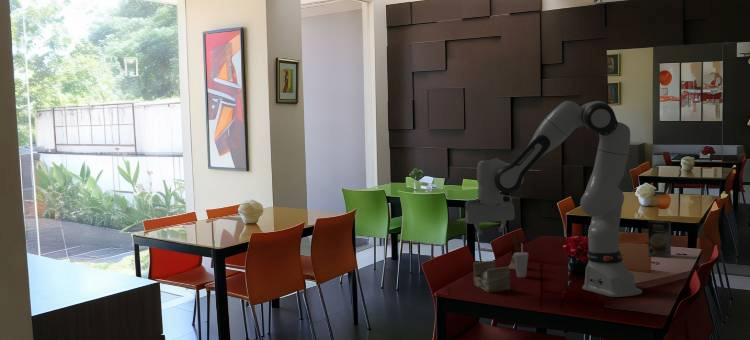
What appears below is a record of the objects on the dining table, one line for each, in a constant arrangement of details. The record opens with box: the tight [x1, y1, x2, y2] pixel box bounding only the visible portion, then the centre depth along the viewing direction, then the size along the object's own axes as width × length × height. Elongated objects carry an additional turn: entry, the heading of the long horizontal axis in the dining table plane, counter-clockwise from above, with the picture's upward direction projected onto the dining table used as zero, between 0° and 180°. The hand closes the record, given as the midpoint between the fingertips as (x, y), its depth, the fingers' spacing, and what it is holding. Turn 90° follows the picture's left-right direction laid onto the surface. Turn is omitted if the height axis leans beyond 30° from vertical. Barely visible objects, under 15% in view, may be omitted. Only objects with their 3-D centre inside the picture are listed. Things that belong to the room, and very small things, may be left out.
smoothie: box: [512, 242, 529, 278], centre depth 275 cm, size 6×6×14 cm
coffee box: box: [647, 219, 672, 258], centre depth 303 cm, size 9×6×16 cm
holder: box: [472, 260, 511, 294], centre depth 260 cm, size 14×9×9 cm, turn 15°
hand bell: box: [507, 231, 520, 271], centre depth 291 cm, size 8×8×16 cm
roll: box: [481, 270, 487, 281], centre depth 260 cm, size 10×5×5 cm, turn 15°
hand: (490, 233), depth 260 cm, fingers open, 8 cm apart
